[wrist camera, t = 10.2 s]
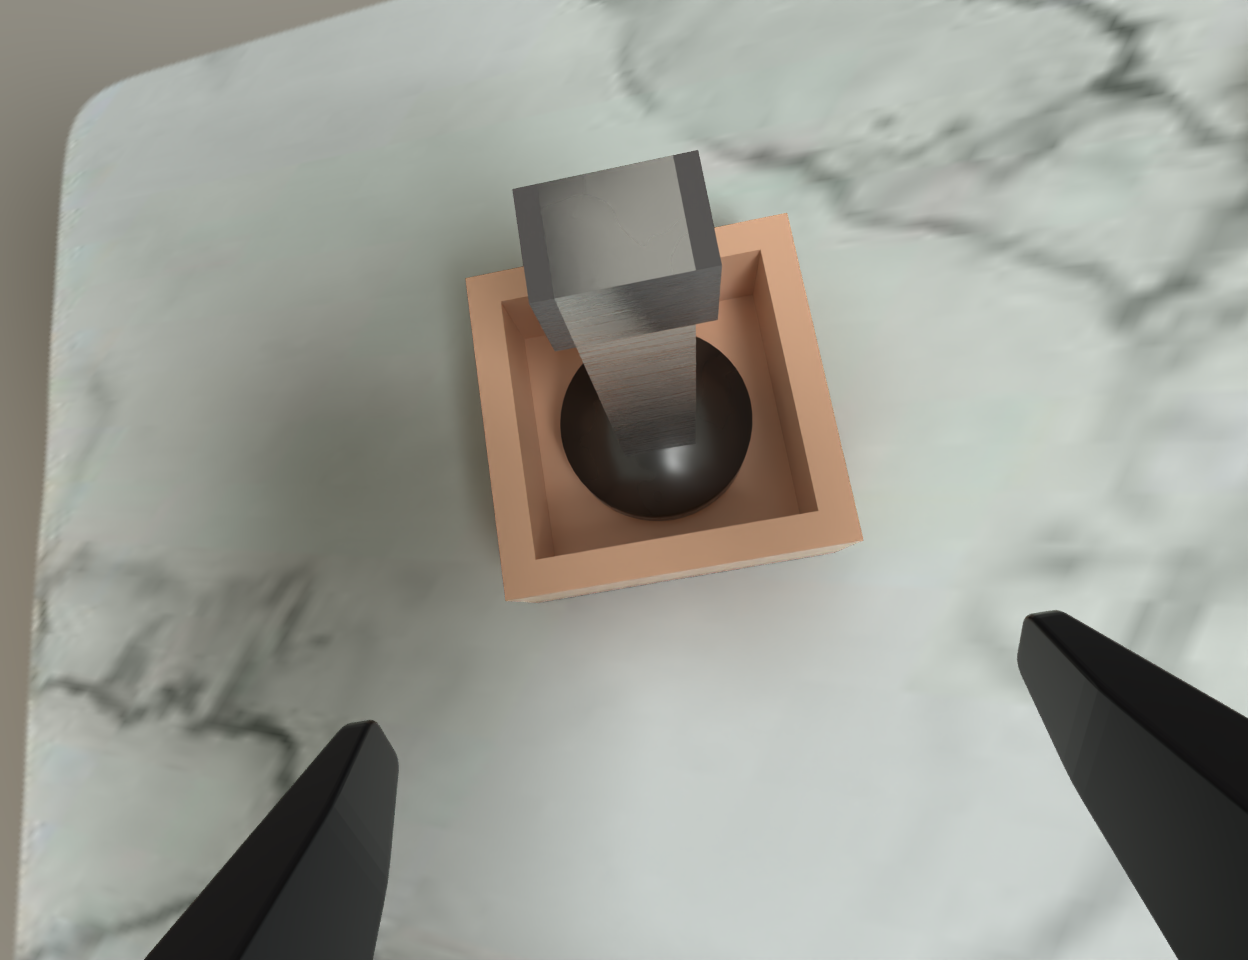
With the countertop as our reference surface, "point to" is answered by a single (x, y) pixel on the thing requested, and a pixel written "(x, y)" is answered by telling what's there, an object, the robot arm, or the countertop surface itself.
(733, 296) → the peach square open box
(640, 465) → the grey stamp
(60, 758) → the countertop surface
